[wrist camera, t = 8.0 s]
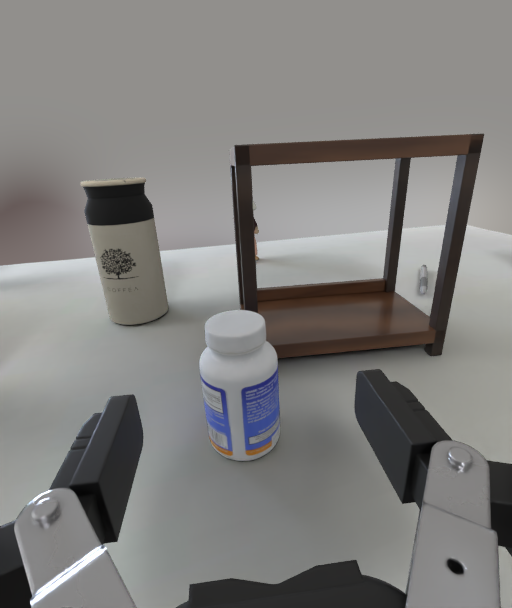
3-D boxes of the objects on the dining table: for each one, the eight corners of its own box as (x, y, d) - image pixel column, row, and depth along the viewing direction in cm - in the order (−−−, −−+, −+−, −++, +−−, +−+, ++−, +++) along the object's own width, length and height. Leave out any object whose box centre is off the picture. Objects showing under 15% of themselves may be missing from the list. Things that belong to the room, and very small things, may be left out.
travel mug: (133, 301, 53) (108, 178, 46) (178, 305, 51) (159, 176, 44) (97, 323, 46) (61, 183, 39) (148, 329, 44) (119, 180, 37)
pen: (426, 271, 60) (427, 263, 59) (426, 299, 48) (428, 290, 48) (420, 270, 60) (421, 263, 60) (418, 299, 49) (420, 289, 48)
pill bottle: (280, 411, 28) (277, 304, 25) (280, 465, 23) (276, 340, 20) (215, 410, 29) (203, 305, 25) (202, 463, 24) (184, 341, 20)
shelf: (441, 355, 35) (484, 133, 27) (248, 374, 33) (234, 145, 25) (388, 309, 46) (407, 141, 38) (241, 321, 44) (229, 150, 37)
